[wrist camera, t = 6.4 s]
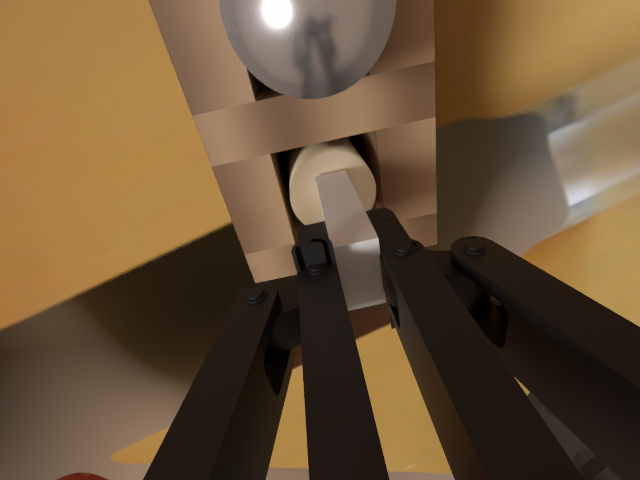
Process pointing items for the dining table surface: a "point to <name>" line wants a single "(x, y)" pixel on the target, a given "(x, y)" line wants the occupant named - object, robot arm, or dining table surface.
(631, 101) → the dining table surface
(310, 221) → the peg
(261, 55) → the peg
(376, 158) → the socket block
